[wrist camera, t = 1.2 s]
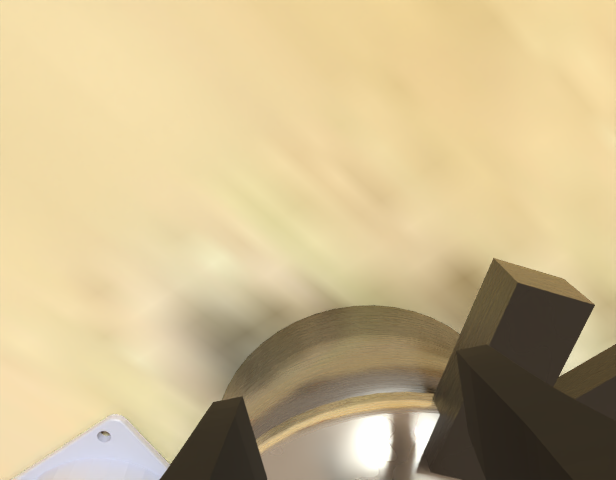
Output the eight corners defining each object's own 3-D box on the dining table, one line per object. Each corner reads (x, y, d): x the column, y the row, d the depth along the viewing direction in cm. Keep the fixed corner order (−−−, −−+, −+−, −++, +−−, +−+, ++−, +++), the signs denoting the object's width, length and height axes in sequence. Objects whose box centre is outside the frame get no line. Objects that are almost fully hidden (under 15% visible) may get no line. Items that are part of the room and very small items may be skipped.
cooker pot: (322, 590, 27) (333, 737, 21) (155, 410, 23) (115, 528, 18) (648, 408, 24) (759, 519, 19) (516, 178, 21) (603, 228, 15)
